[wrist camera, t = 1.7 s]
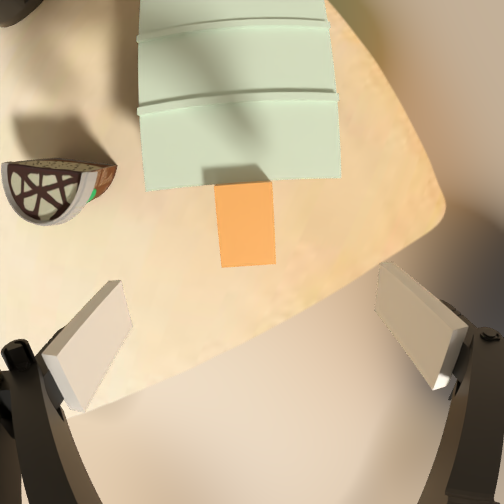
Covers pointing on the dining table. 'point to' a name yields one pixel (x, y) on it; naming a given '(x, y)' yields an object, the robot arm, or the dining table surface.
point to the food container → (54, 187)
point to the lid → (237, 107)
